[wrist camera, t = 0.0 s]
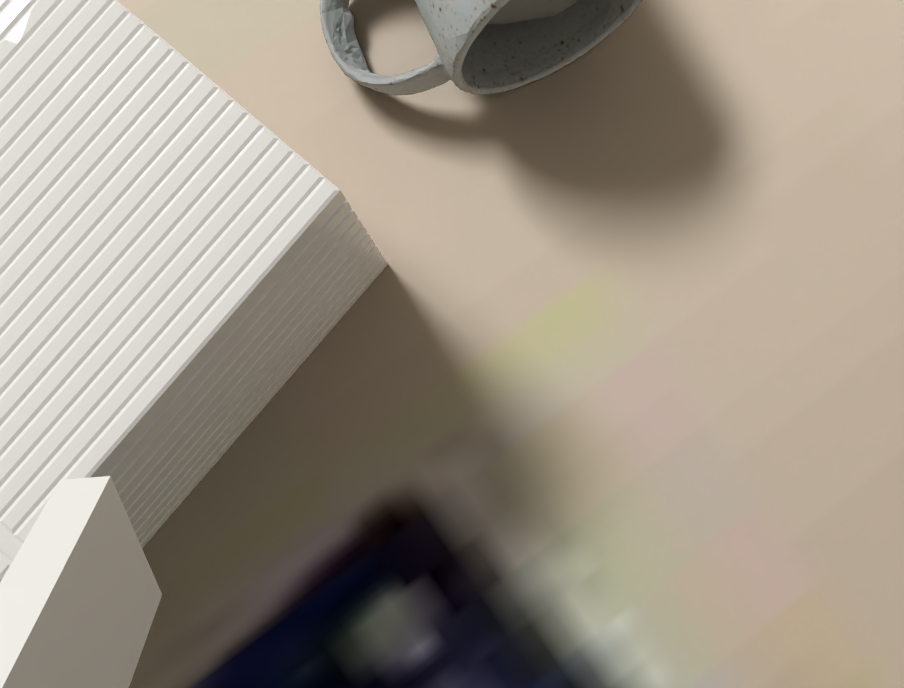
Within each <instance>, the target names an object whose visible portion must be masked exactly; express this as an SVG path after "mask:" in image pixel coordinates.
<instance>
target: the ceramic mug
mask: <svg viewBox="0 0 904 688" xmlns="http://www.w3.org/2000/svg"><path fill="white" fill-rule="evenodd" d="M642 1H643V0H415V2H416V4H417V6H418V9H419V11H420V13H421V15H422V18H423V20H424V22H425V24H426V26H427V28H428V30H429V33H430V35H431V38H432V40H433V42H434V43H435V45H436V48H437V52H438V55H437V56H436V58H435V59H434V60H433V61H432V62H431V63H430V64H428V65H426V66H424V67H422V68H418V69H414V70H412V71H410V72H406V73H402V74H398V75H394V76H383V75H380V74H374V73H371V72H370V70H369V69H368V66H367V64H366V61H365V59H364V56H363V53H362V51H361V48H360V46H359V44H358V42H357V38H356V34H355V31H354V17H353V15H352V13H351V12H350V10H348V5H349V0H320V14H321V23H322V28H323V33H324V37H325V39H326V42H327V44H328V47H329V49H330V52H331V54H332V56H333V58H334V60H335V61H336V63H337V64H338V65H339V67H340V68H341V70H342V71H343V72H344V74H345V75H347V76H348V77H350V78H351V79H353V80H354V81H356V82H357V83H359V84H360V85H363V86H365V87H369V88H371V89H372V90H374V91H378V92H381V93H385V94H391V95H411V94H415V93H419V92H423V91H426V90H429V89H431V88H434V87H437V86H439V85H442V84H444V83H446V82H447V81H449V80H451V79H452V81H453V82H454V84H455V85H456V86H457V87H459V88H460V89H461V90H463V91H465V92H469V93H472V94H485V95H486V94H491V93H500V92H505V91H509V90H513V89H515V88H518V87H520V86H523V85H526V84H528V83H530V82H532V81H535V80H539V79H541V78H543V77H546V76H547V75H549V74H551V73H553V72H555V71H557V70H558V69H560V68H562V67H564V66H565V65H567V64H569V63H571V62H573V61H574V60H575V59H577V58H578V57H580V56H582V55H584V54H585V53H586V52H588V51H589V50H591V49H592V48H593V47H594V46H595V45H596V44H597V43H599V42H601V41H602V40H603V39H605V38H606V37H607V36H608V35H610V34H611V33H612V32H613V31H614V30H615V29H616V28H617V27H618V26H619V25H621V24H622V23H623V22H624V21H625V20H626V19H627V18H629V17H630V15H631V14H632V12H633V11H634V10H635V8H636V7H637V6H638V5H639V4H640V3H641V2H642Z"/></svg>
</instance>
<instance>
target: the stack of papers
mask: <svg viewBox="0 0 904 688" xmlns="http://www.w3.org/2000/svg"><path fill="white" fill-rule="evenodd" d="M387 265H388V263H387V261H386V260H385V258H384V257H383V256H382V254H381V252H380V251H379V249H378V248H377V246H376V245H375V243H374V242H373V240H372V238H371V237H370V235H369V234H368V233H367V231H366V229H365V228H364V227H363V225H362V223H361V222H360V220H359V219H358V217H357V215H356V214H355V212H354V211H353V210H352V208H351V206H350V205H349V203H348V202H347V201H346V198H345V197H344V195H343V194H342V192H341V191H340V190H339V189H338V188H337V187H336V186H335V185H333V184H332V183H331V182H330V181H329V180H328V179H326V178H325V177H324V176H323V175H322V174H320V173H319V172H318V171H317V170H316V169H315V168H313V167H312V166H311V165H310V164H309V163H308V162H306V161H305V160H304V159H303V158H302V157H301V156H299V155H298V154H297V153H296V152H295V151H293V150H292V149H291V148H290V147H289V146H288V145H286V144H285V143H284V142H283V141H282V140H281V139H279V138H278V137H277V136H276V135H275V134H274V133H272V132H271V131H270V130H269V129H268V128H266V127H265V126H264V125H263V124H262V123H261V122H259V121H258V120H257V119H256V118H255V117H254V116H252V115H251V114H250V113H249V112H248V111H247V110H245V109H244V108H243V107H242V106H241V105H239V104H238V103H237V102H236V101H235V100H234V99H232V98H231V97H230V96H229V95H228V94H227V93H225V92H224V91H223V90H222V89H221V88H219V87H218V86H217V85H216V84H215V83H214V82H212V81H211V80H210V79H209V78H208V77H207V76H205V75H204V74H203V73H202V72H201V71H200V70H198V69H197V68H196V67H195V66H194V65H192V64H191V63H190V62H189V61H188V60H187V59H185V58H184V57H183V56H182V55H181V54H180V53H178V52H177V51H176V50H175V49H174V48H173V47H171V46H170V45H169V44H168V43H167V42H165V41H164V40H163V39H162V38H161V37H160V36H158V35H157V34H156V33H155V32H154V31H153V30H151V29H150V28H149V27H148V26H147V25H146V24H144V23H143V22H142V21H141V20H140V19H138V18H137V17H136V16H135V15H134V14H133V13H131V12H130V11H129V10H128V9H127V8H126V7H124V6H123V5H122V4H121V3H120V2H119V1H117V0H0V582H1V580H2V578H3V577H4V575H5V573H6V571H7V570H8V568H9V566H10V565H11V563H12V561H13V560H14V558H15V556H16V554H17V553H18V551H19V549H20V548H21V546H22V544H23V543H24V541H25V539H26V538H27V536H28V534H29V532H30V531H31V529H32V527H33V526H34V524H35V522H36V521H37V519H38V517H39V515H40V514H41V512H42V510H43V509H44V507H45V505H46V504H47V502H48V500H49V499H50V497H51V495H52V493H53V492H54V490H55V488H56V487H57V485H58V483H59V482H60V480H64V479H77V478H90V477H104V476H111V478H112V480H113V483H114V485H115V487H116V490H117V492H118V494H119V497H120V499H121V501H122V503H123V506H124V508H125V510H126V513H127V515H128V517H129V520H130V522H131V524H132V526H133V529H134V531H135V533H136V536H137V538H138V540H139V543H140V545H141V547H142V548H143V547H144V546H145V544H146V543H147V542H148V541H149V540H150V539H151V537H152V536H153V535H154V534H155V533H156V532H157V531H158V529H159V528H160V527H161V526H162V525H163V524H164V522H165V521H166V520H167V519H168V518H169V517H170V516H171V514H172V513H173V512H174V511H175V510H176V509H177V507H178V506H179V505H180V504H181V503H182V502H183V500H184V499H185V498H186V497H187V496H188V495H189V494H190V492H191V491H192V490H193V489H194V488H195V487H196V485H197V484H198V483H199V482H200V481H201V480H202V479H203V477H204V476H205V475H206V474H207V473H208V472H209V470H210V469H211V468H212V467H213V466H214V465H215V464H216V462H217V461H218V460H219V459H220V458H221V457H222V455H223V454H224V453H225V452H226V451H227V450H228V449H229V447H230V446H231V445H232V444H233V443H234V442H235V440H236V439H237V438H238V437H239V436H240V435H241V433H242V432H243V431H244V430H245V429H246V428H247V427H248V425H249V424H250V423H251V422H252V421H253V420H254V418H255V417H256V416H257V415H258V414H259V413H260V412H261V410H262V409H263V408H264V407H265V406H266V405H267V403H268V402H269V401H270V400H271V399H272V398H273V397H274V395H275V394H276V393H277V392H278V391H279V390H280V388H281V387H282V386H283V385H284V384H285V383H286V382H287V380H288V379H289V378H290V377H291V376H292V375H293V373H294V372H295V371H296V370H297V369H298V368H299V367H300V365H301V364H302V363H303V362H304V361H305V360H306V358H307V357H308V356H309V355H310V354H311V353H312V351H313V350H314V349H315V348H316V347H317V346H318V345H319V343H320V342H321V341H322V340H323V339H324V338H325V336H326V335H327V334H328V333H329V332H330V331H331V330H332V328H333V327H334V326H335V325H336V324H337V323H338V321H339V320H340V319H341V318H342V317H343V316H344V315H345V313H346V312H347V311H348V310H349V309H350V308H351V306H352V305H353V304H354V303H355V302H356V301H357V300H358V298H359V297H360V296H361V295H362V294H363V293H364V291H365V290H366V289H367V288H368V287H369V286H370V284H371V283H372V282H373V281H374V280H375V279H376V278H377V276H378V275H379V274H380V273H381V272H382V271H383V269H384V268H385V267H386V266H387Z"/></svg>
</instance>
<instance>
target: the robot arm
mask: <svg viewBox="0 0 904 688" xmlns="http://www.w3.org/2000/svg"><path fill="white" fill-rule="evenodd" d="M161 597H162V593H161V591H160V589H159V586H158V584H157V582H156V579H155V577H154V575H153V572H152V570H151V568H150V566H149V563H148V561H147V559H146V556H145V554H144V552H143V549H142V547H141V545H140V543H139V540H138V538H137V536H136V533H135V531H134V529H133V526H132V524H131V522H130V520H129V517H128V515H127V513H126V510H125V508H124V506H123V503H122V501H121V499H120V497H119V494H118V492H117V490H116V487H115V485H114V483H113V480H112V478H111V476H104V477H90V478H77V479H64V480H60V482H59V483H58V485H57V487H56V488H55V490H54V492H53V493H52V495H51V497H50V499H49V500H48V502H47V504H46V505H45V507H44V509H43V510H42V512H41V514H40V515H39V517H38V519H37V521H36V522H35V524H34V526H33V527H32V529H31V531H30V532H29V534H28V536H27V538H26V539H25V541H24V543H23V544H22V546H21V548H20V549H19V551H18V553H17V554H16V556H15V558H14V560H13V561H12V563H11V565H10V566H9V568H8V570H7V571H6V573H5V575H4V577H3V578H2V580H1V582H0V688H129V686H130V683H131V681H132V678H133V675H134V672H135V669H136V667H137V664H138V661H139V658H140V655H141V653H142V650H143V647H144V644H145V642H146V639H147V636H148V633H149V630H150V628H151V625H152V622H153V619H154V616H155V614H156V611H157V608H158V605H159V602H160V600H161Z"/></svg>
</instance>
